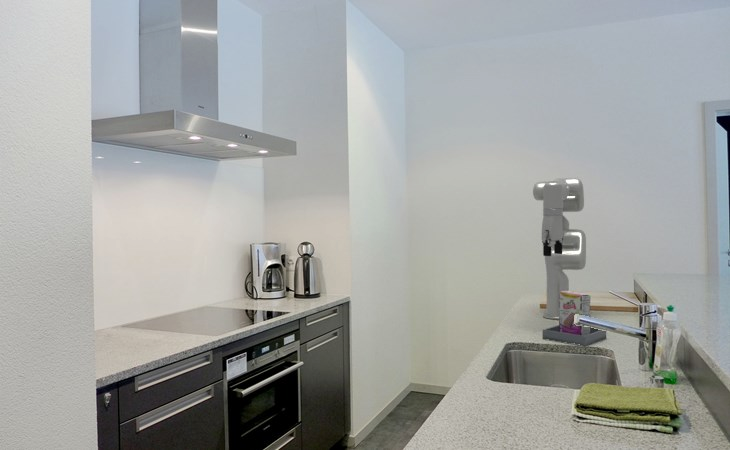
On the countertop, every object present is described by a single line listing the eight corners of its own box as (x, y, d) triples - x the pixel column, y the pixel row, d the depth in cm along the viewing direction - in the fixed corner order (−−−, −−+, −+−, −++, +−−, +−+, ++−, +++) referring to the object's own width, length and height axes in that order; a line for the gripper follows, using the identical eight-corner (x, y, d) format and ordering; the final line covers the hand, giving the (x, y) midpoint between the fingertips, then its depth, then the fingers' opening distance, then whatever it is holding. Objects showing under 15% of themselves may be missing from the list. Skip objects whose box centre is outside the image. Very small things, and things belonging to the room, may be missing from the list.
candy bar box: (558, 333, 212) (558, 291, 212) (567, 332, 214) (568, 290, 214) (581, 339, 202) (581, 295, 202) (590, 338, 204) (591, 294, 204)
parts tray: (564, 331, 220) (564, 323, 220) (606, 338, 208) (606, 329, 208) (542, 338, 208) (542, 329, 208) (585, 346, 196) (585, 336, 196)
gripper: (553, 212, 233) (553, 252, 234) (534, 213, 220) (534, 256, 221) (571, 212, 227) (571, 253, 228) (551, 214, 215) (551, 257, 216)
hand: (552, 254), depth 225 cm, fingers open, 9 cm apart
